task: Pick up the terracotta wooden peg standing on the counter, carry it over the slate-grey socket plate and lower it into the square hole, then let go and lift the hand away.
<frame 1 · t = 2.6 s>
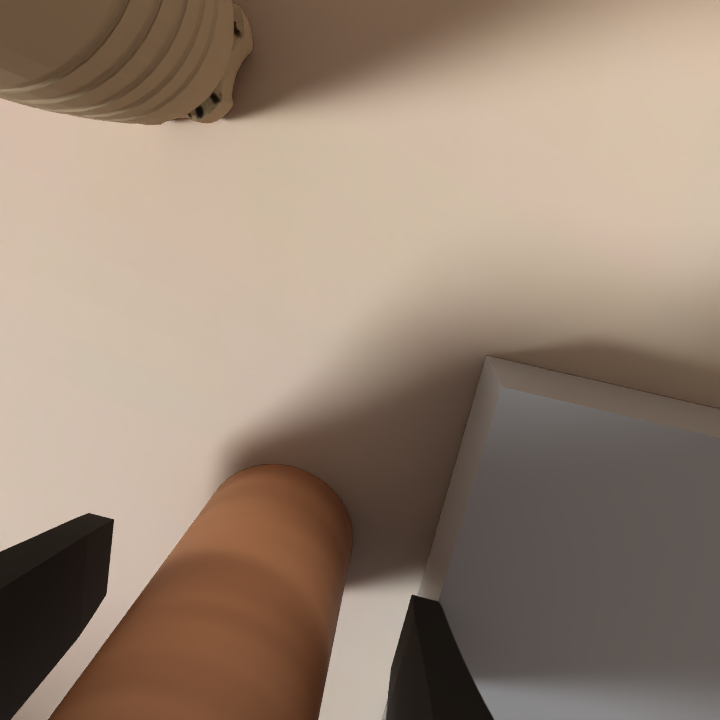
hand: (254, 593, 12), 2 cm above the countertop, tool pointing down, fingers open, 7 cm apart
peg: (278, 533, 15), on the countertop
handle: (188, 55, 12), on the countertop
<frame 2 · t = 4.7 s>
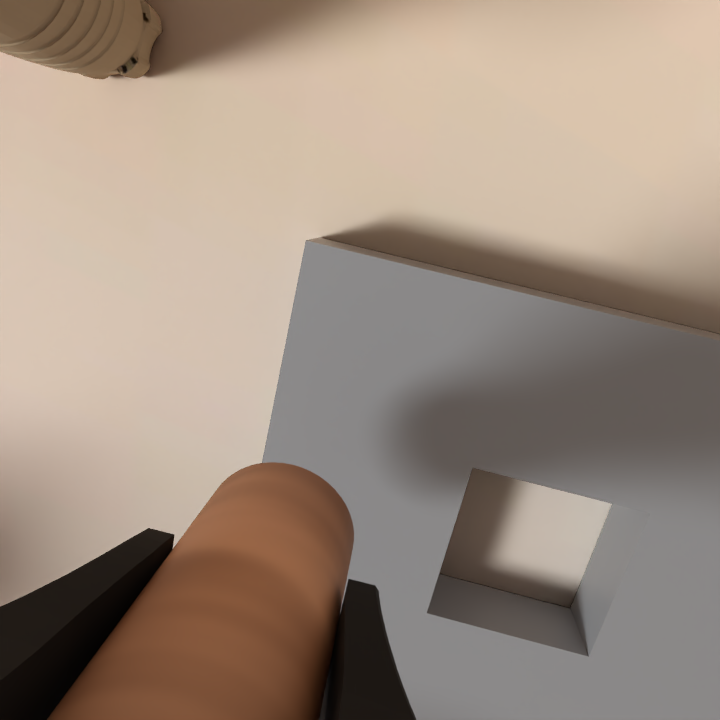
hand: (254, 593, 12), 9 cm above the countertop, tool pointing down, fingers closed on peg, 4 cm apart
socket plate: (519, 526, 21), on the countertop
peg: (279, 531, 15), point 7 cm above the countertop, touching gripper
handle: (122, 35, 18), on the countertop
when the fingers open (4 cm above the countertop, at t = 6.7 s): peg drops 1 cm, resting in socket plate.
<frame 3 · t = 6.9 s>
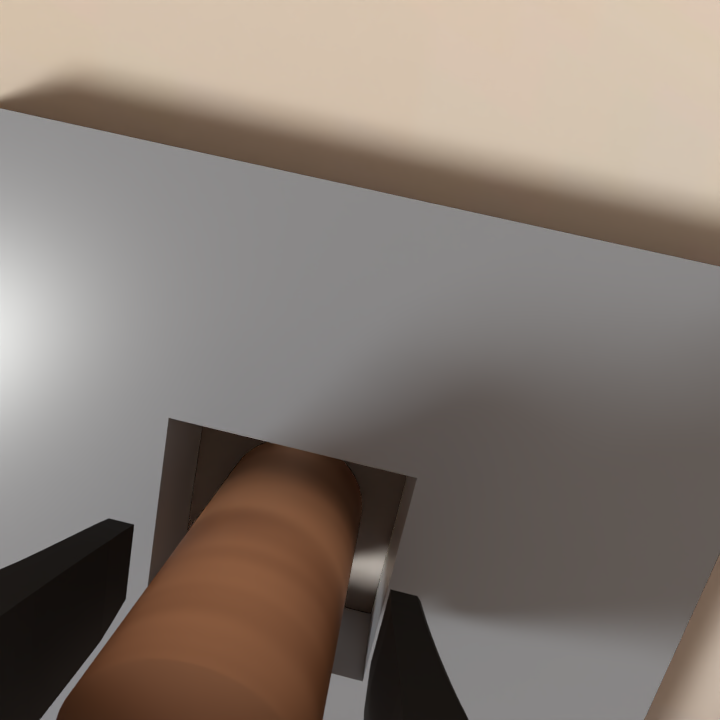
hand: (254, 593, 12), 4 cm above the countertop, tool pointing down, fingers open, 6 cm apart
socket plate: (292, 505, 16), on the countertop
peg: (294, 502, 16), resting in socket plate
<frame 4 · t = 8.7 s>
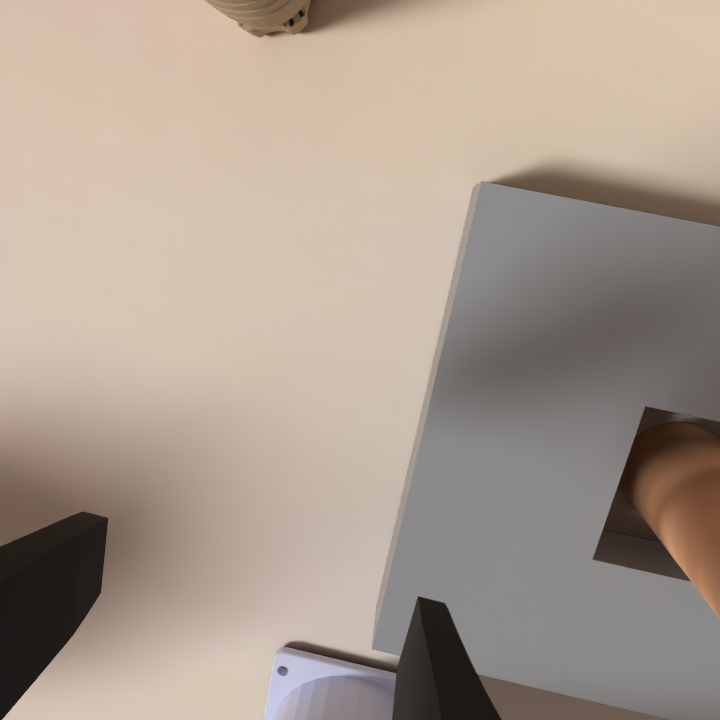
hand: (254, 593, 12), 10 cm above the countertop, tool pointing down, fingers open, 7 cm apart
socket plate: (672, 472, 21), on the countertop
peg: (673, 470, 21), resting in socket plate
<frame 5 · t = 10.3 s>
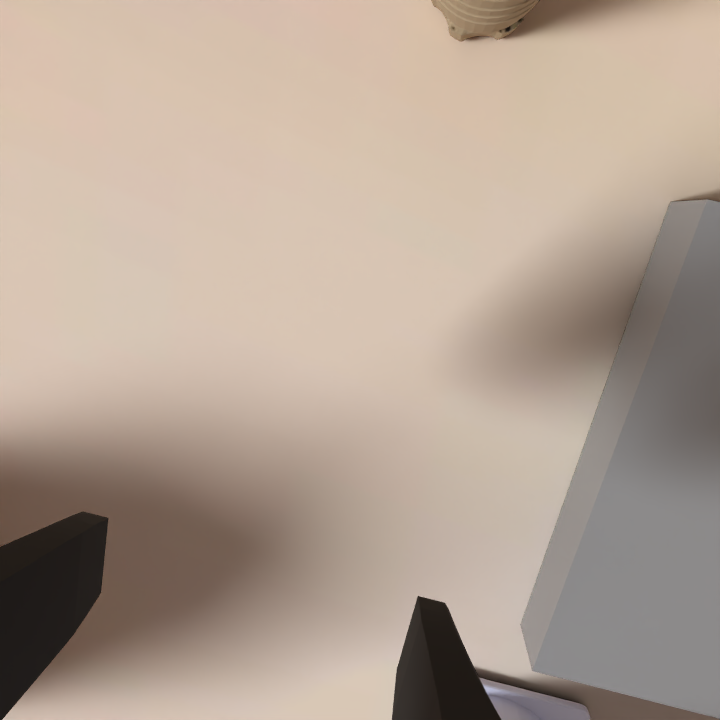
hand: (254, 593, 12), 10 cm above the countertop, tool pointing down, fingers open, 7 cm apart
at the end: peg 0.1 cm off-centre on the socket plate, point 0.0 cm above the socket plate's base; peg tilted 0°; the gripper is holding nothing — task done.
